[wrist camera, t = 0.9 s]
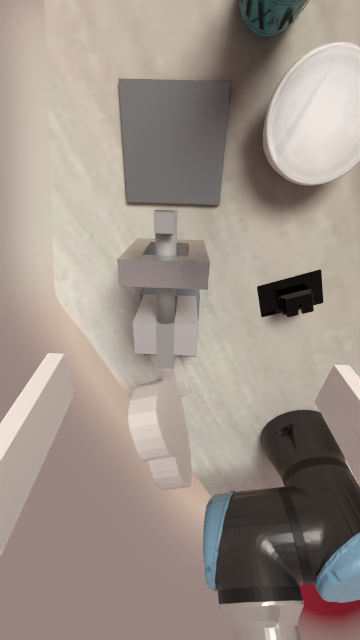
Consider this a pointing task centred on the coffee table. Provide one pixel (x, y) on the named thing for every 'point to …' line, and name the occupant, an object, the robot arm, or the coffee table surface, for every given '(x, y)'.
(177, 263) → the ring
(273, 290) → the black phone stand
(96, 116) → the coffee table surface
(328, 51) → the ramekin
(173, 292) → the vise
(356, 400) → the robot arm
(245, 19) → the beverage bottle
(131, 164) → the mat
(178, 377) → the heart sculpture
